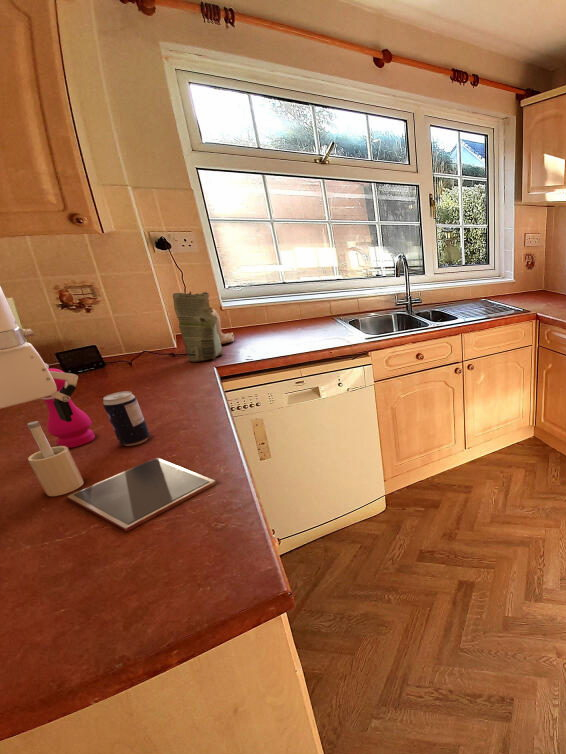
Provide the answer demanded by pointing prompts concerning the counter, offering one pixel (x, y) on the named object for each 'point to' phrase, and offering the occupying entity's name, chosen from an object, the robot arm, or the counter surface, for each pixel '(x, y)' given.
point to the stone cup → (223, 337)
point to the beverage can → (126, 418)
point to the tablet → (141, 493)
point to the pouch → (197, 326)
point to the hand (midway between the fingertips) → (32, 430)
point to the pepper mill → (68, 431)
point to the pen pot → (56, 471)
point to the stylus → (41, 439)
